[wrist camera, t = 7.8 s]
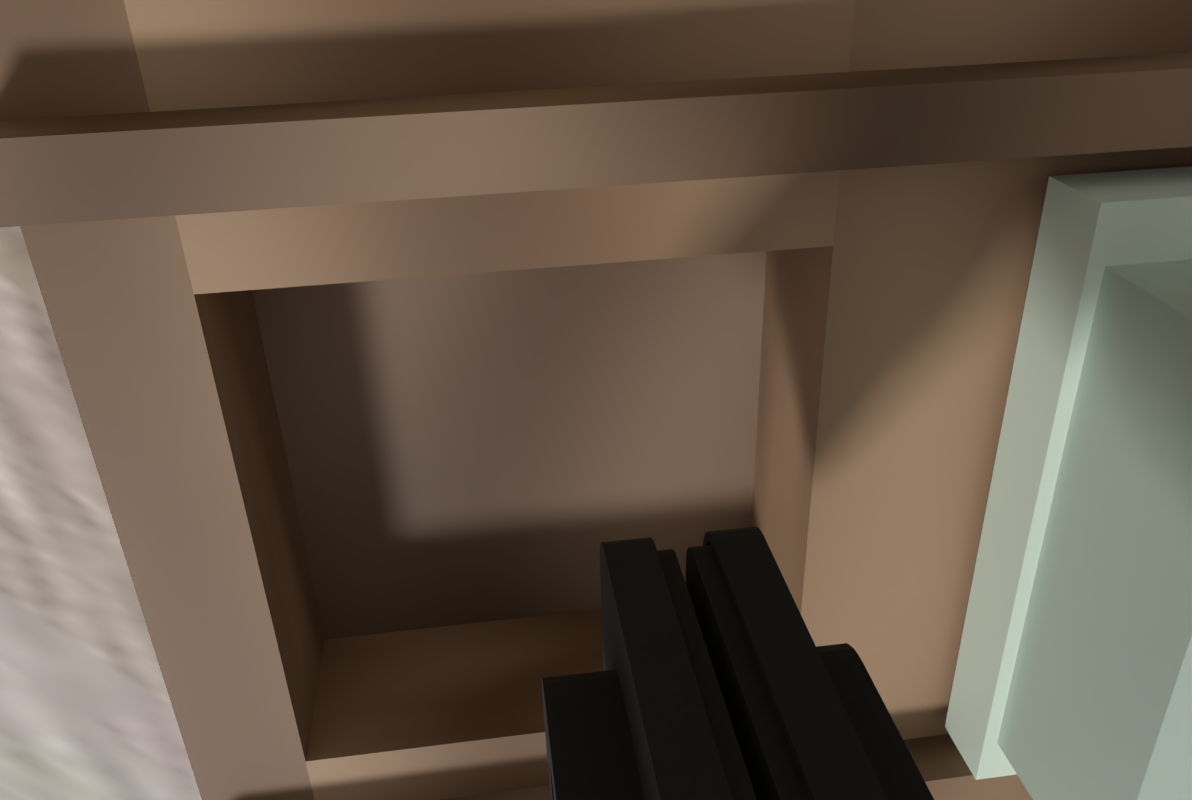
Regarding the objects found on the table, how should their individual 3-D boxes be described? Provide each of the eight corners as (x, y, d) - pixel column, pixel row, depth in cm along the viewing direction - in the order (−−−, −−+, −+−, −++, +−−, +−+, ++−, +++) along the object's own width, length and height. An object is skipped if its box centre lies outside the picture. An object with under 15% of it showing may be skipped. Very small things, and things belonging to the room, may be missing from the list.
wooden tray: (1502, -223, 13) (1876, -254, 9) (1185, 699, 20) (1330, 862, 17) (20, -182, 11) (-167, -203, 8) (283, 815, 18) (248, 1023, 15)
